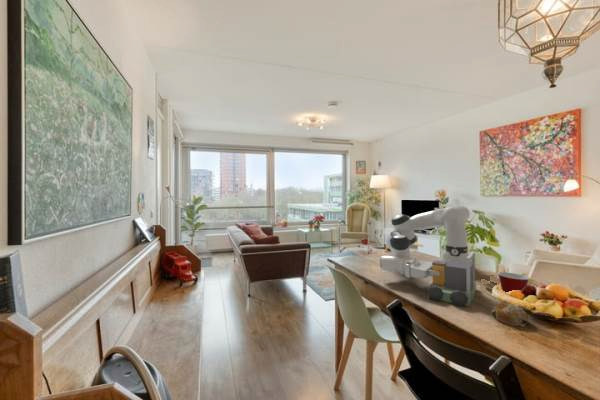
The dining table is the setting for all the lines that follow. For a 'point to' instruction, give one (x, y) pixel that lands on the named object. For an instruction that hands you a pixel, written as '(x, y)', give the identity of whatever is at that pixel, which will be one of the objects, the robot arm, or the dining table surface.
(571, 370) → the dining table surface
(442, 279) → the orange tall cylinder
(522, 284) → the plastic cup
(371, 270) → the dining table surface
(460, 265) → the green wheeled cart
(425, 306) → the dining table surface
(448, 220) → the robot arm
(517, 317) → the grey brown rounded lump
